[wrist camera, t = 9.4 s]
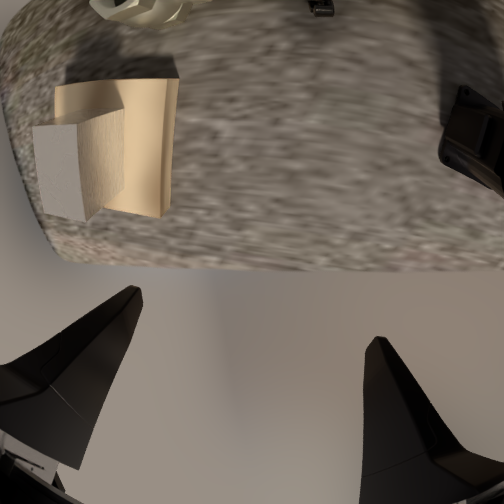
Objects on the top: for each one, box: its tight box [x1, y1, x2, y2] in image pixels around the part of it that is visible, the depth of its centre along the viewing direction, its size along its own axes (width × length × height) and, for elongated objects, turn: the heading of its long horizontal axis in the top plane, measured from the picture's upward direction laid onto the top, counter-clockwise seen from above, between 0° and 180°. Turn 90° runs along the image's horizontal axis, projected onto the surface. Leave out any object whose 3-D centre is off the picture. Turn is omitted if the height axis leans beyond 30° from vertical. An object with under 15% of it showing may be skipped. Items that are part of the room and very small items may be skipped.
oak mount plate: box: [55, 78, 179, 218], centre depth 17 cm, size 10×10×2 cm
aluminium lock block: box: [32, 108, 125, 222], centre depth 15 cm, size 4×6×5 cm, turn 170°
